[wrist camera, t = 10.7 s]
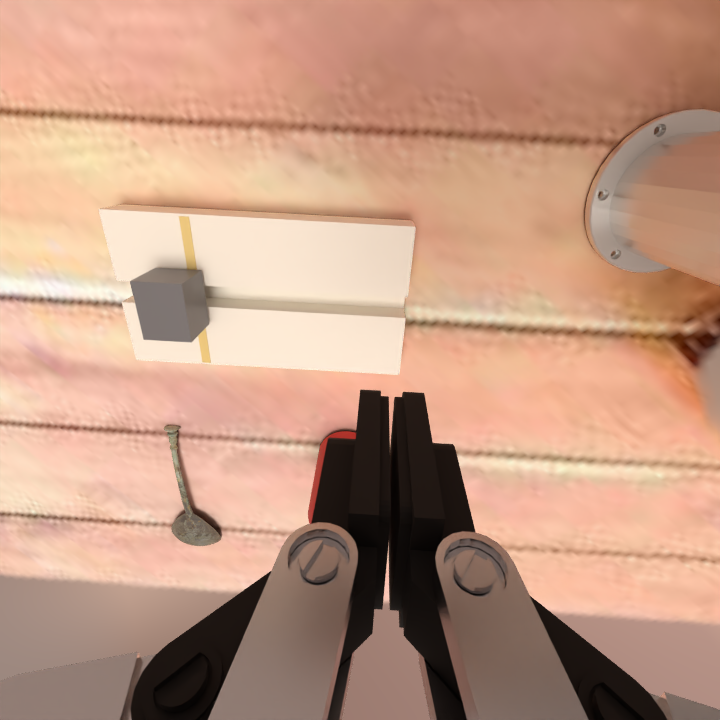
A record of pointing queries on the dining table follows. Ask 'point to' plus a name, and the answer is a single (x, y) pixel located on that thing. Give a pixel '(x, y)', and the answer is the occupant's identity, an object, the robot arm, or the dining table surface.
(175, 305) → the fader knob
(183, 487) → the soupspoon
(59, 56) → the dining table surface
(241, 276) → the slider console
